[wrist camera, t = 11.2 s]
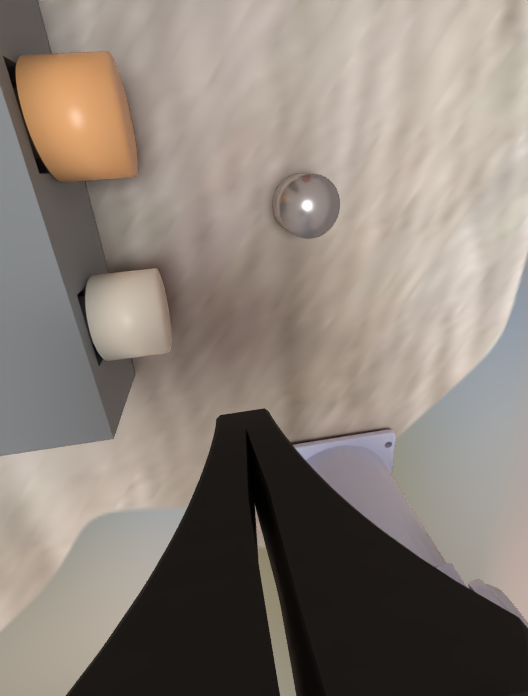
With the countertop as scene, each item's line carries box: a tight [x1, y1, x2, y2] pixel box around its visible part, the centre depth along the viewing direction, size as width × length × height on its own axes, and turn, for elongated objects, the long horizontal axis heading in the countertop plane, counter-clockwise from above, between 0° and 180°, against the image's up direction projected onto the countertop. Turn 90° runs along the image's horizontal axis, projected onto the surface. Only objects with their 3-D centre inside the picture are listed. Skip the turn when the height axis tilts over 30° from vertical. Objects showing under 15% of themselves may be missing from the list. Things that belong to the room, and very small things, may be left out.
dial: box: [273, 174, 340, 238], centre depth 17 cm, size 3×3×2 cm
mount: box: [0, 0, 135, 456], centre depth 14 cm, size 16×6×6 cm, turn 4°
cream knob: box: [78, 268, 171, 361], centre depth 15 cm, size 4×10×4 cm, turn 94°
